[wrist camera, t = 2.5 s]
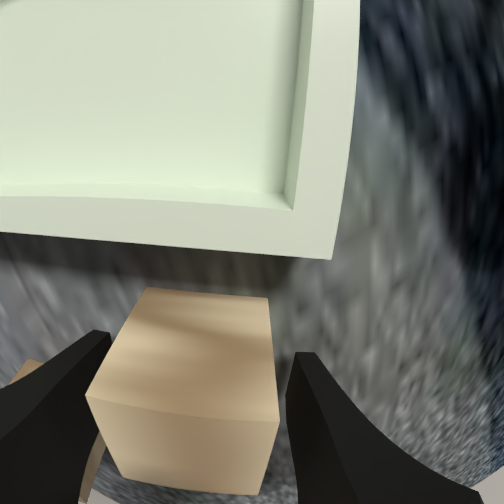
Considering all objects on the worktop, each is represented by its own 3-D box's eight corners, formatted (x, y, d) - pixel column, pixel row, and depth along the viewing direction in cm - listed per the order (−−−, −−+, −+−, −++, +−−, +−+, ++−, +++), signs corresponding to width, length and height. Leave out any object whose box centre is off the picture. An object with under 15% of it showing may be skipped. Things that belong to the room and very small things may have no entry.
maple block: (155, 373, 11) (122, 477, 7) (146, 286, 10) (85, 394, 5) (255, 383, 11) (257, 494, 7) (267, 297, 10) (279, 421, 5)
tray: (-35, 206, 8) (-74, 225, 6) (-5, -26, 4) (-37, -38, 2) (310, 226, 9) (330, 259, 7) (334, -77, 5) (353, -115, 3)
